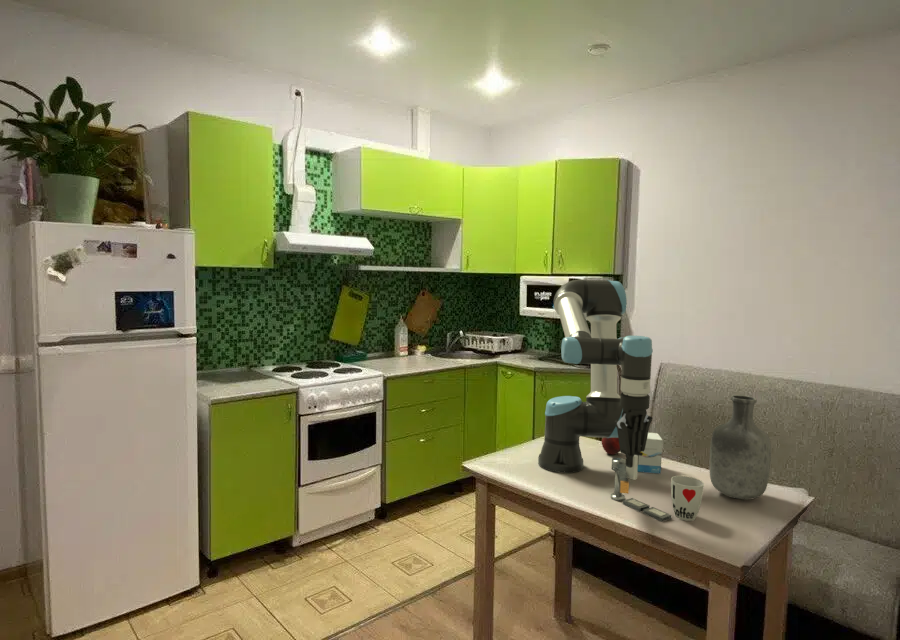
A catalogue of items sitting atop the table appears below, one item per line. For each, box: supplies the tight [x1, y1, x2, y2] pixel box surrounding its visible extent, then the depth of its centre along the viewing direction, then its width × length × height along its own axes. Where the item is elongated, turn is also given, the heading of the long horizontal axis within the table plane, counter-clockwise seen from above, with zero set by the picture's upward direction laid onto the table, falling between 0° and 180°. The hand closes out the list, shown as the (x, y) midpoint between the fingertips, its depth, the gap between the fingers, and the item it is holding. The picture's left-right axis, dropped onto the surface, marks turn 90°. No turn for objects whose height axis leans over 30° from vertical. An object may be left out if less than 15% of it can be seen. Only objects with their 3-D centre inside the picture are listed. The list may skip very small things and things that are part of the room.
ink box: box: [637, 432, 664, 474], centre depth 186 cm, size 8×8×12 cm
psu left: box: [622, 497, 651, 513], centre depth 155 cm, size 6×4×1 cm, turn 32°
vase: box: [709, 394, 772, 500], centre depth 164 cm, size 16×16×30 cm
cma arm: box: [610, 457, 630, 494], centre depth 152 cm, size 20×4×3 cm, turn 167°
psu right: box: [642, 506, 672, 522], centre depth 149 cm, size 6×4×1 cm, turn 32°
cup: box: [670, 475, 705, 522], centre depth 148 cm, size 8×8×10 cm
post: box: [610, 471, 626, 502], centre depth 160 cm, size 4×4×8 cm
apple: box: [601, 437, 621, 456], centre depth 201 cm, size 7×8×8 cm
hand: (631, 477), depth 150 cm, fingers closed
